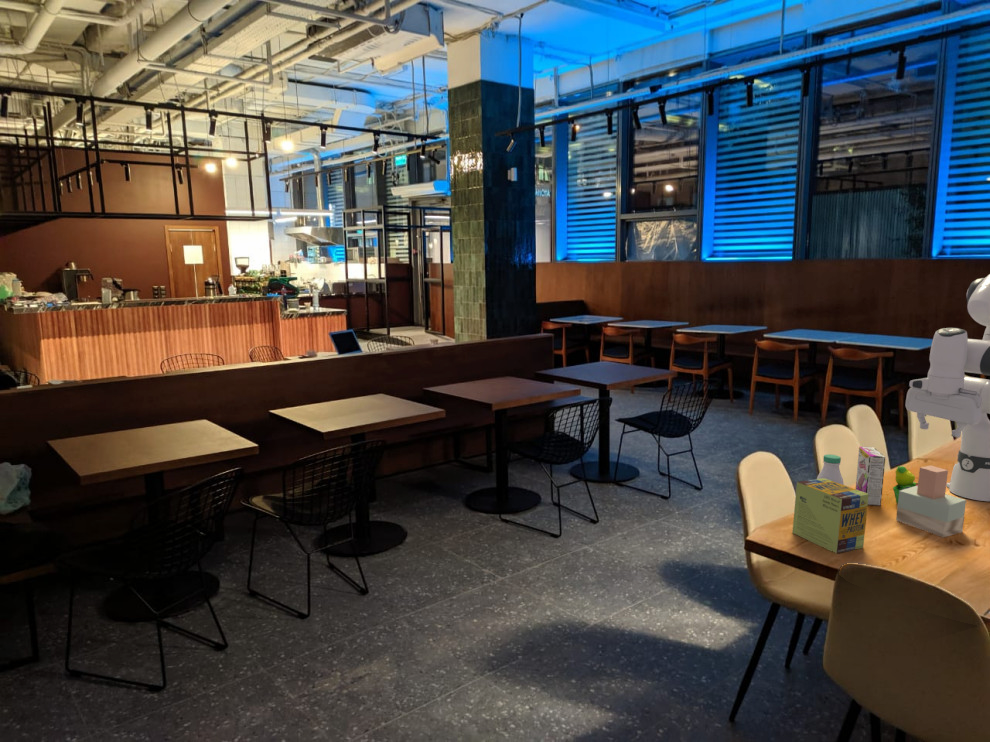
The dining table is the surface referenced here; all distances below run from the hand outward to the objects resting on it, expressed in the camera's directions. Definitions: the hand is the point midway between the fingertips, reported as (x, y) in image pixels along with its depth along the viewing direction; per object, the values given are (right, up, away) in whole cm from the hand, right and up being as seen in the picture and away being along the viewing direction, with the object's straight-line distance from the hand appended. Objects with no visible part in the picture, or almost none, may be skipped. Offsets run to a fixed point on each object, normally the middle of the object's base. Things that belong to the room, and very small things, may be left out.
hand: (939, 432), depth 198 cm
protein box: (-35, -30, -5) cm, 46 cm away
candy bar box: (-6, -25, +27) cm, 37 cm away
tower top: (0, -24, +4) cm, 24 cm away
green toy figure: (+6, -25, +26) cm, 36 cm away
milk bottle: (-28, -27, +9) cm, 40 cm away
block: (0, -19, +3) cm, 19 cm away
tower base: (0, -28, +5) cm, 29 cm away
